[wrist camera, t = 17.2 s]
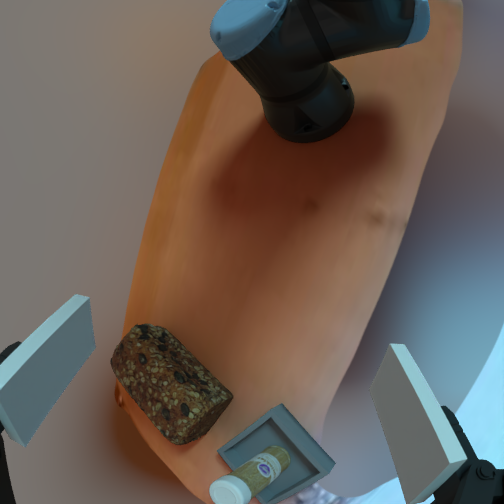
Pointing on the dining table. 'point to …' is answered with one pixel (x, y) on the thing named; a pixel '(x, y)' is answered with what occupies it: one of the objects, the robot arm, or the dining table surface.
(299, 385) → the dining table surface
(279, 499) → the tray
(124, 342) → the bread
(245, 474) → the sprinkles bottle
